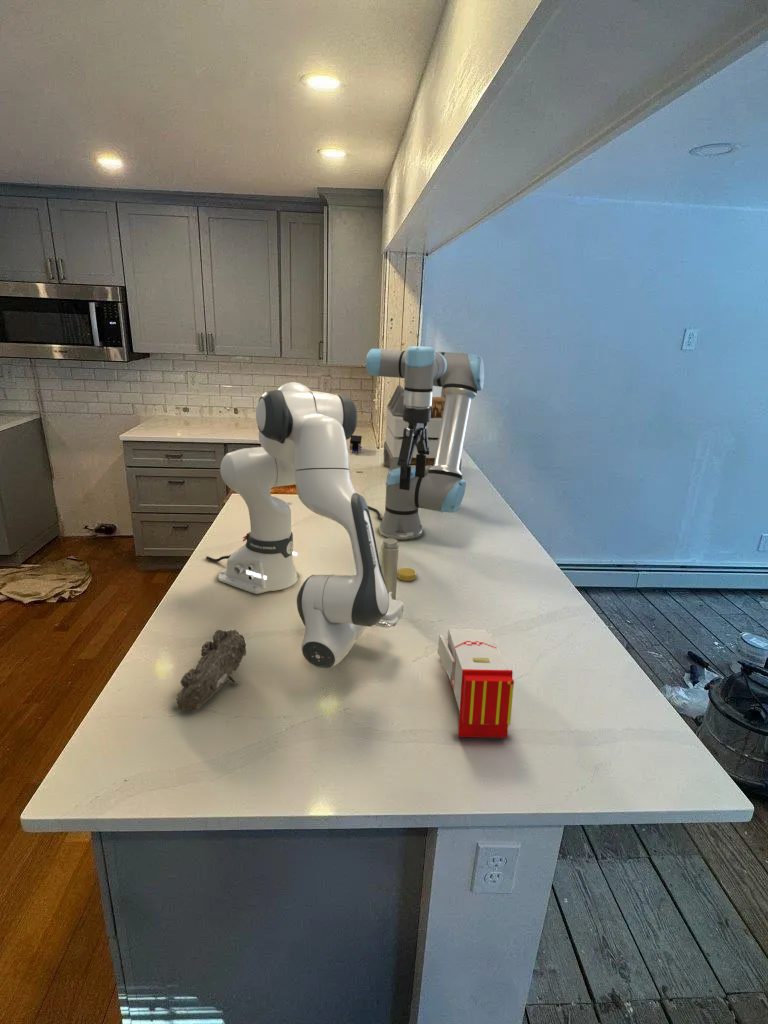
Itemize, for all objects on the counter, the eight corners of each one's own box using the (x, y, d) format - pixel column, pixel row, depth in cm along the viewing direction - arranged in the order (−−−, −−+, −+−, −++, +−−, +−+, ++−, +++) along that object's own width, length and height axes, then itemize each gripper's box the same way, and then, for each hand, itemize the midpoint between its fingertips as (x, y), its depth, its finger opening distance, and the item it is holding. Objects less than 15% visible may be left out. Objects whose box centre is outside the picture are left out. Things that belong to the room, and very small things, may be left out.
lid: (415, 573, 170) (415, 568, 170) (415, 581, 165) (415, 576, 165) (397, 572, 171) (397, 567, 170) (397, 580, 166) (397, 575, 165)
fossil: (198, 632, 128) (246, 601, 123) (228, 660, 130) (275, 631, 125) (154, 704, 108) (208, 671, 103) (190, 735, 111) (244, 705, 106)
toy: (488, 613, 130) (523, 677, 101) (484, 667, 133) (517, 744, 104) (435, 612, 130) (455, 676, 101) (432, 666, 133) (451, 743, 103)
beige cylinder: (380, 608, 150) (383, 544, 144) (377, 600, 154) (379, 537, 148) (397, 607, 151) (400, 543, 145) (393, 599, 155) (396, 536, 149)
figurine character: (361, 456, 305) (361, 447, 319) (361, 443, 302) (362, 434, 315) (348, 456, 305) (350, 446, 318) (349, 442, 302) (350, 433, 315)
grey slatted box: (382, 463, 289) (386, 382, 275) (445, 464, 293) (451, 384, 279) (390, 482, 257) (394, 392, 243) (460, 483, 261) (468, 394, 247)
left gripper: (394, 615, 121) (412, 587, 133) (307, 595, 127) (332, 570, 139) (392, 640, 123) (410, 610, 136) (307, 620, 129) (332, 593, 142)
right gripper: (418, 399, 163) (413, 470, 171) (387, 412, 141) (383, 493, 149) (443, 401, 161) (437, 473, 168) (416, 415, 139) (411, 497, 146)
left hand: (370, 590), depth 137 cm, fingers open, 8 cm apart
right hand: (412, 483), depth 158 cm, fingers open, 13 cm apart
